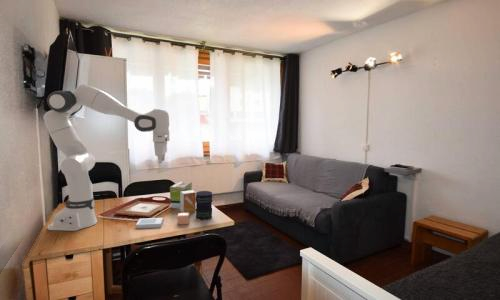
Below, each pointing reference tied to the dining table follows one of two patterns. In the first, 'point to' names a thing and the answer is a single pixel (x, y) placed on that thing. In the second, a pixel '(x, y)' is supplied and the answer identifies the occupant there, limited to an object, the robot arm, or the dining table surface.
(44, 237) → the dining table surface
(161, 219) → the white flat box
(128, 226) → the dining table surface
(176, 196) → the tea box
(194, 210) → the small box
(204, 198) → the storage jar
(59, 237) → the dining table surface
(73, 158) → the robot arm
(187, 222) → the stub
